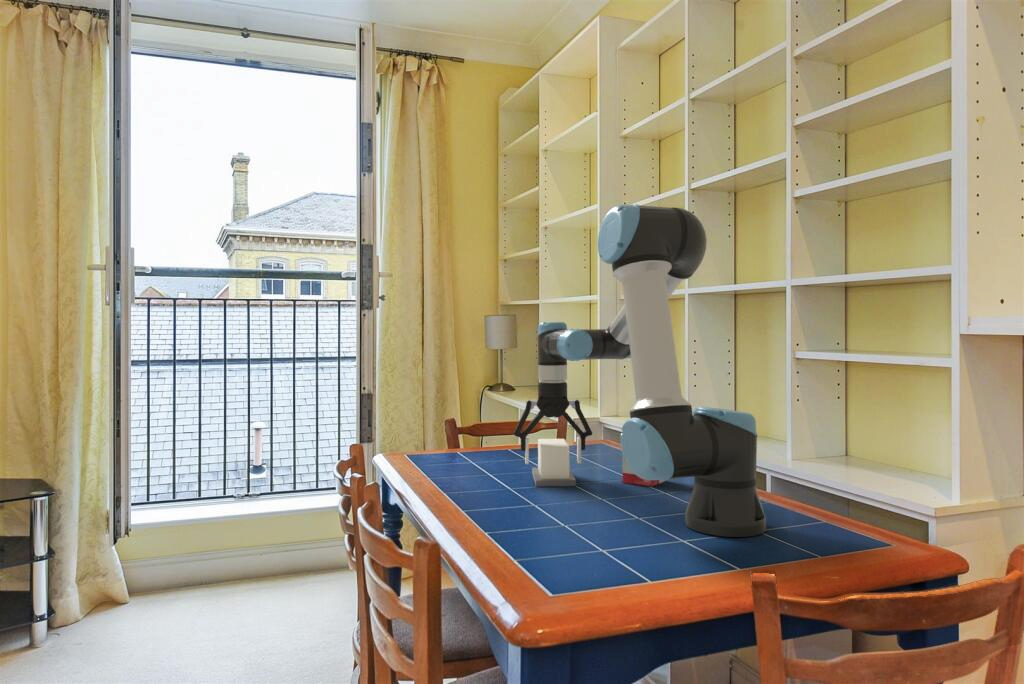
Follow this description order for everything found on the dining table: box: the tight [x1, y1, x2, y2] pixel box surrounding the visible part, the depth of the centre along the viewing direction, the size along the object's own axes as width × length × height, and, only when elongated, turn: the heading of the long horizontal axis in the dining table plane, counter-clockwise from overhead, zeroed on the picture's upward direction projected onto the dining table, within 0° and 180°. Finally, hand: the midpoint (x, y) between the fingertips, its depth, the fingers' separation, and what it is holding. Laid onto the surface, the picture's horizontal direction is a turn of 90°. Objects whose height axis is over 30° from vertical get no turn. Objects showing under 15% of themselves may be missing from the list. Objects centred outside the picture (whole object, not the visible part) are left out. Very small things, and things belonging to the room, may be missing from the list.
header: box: [531, 466, 577, 488], centre depth 177 cm, size 16×10×6 cm, turn 2°
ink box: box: [621, 454, 666, 487], centre depth 173 cm, size 9×9×12 cm
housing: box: [537, 438, 570, 479], centre depth 177 cm, size 13×7×8 cm, turn 2°
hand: (553, 463), depth 177 cm, fingers open, 13 cm apart
